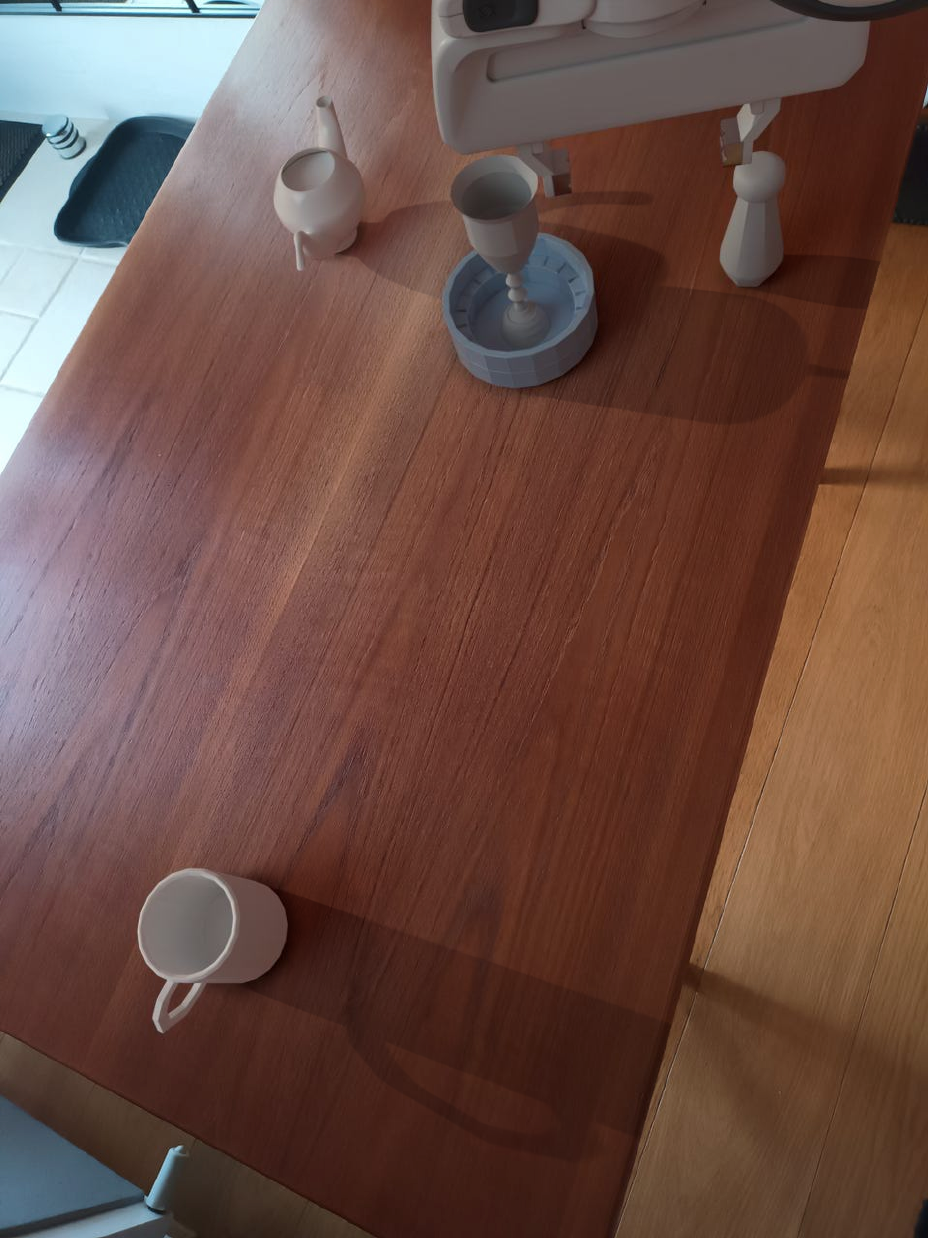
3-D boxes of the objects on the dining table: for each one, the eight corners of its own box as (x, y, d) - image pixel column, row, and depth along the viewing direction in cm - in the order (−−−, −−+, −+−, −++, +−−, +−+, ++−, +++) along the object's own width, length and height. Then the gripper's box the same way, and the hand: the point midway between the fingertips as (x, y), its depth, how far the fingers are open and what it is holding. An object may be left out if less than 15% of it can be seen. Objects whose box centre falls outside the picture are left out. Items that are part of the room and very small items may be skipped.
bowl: (592, 260, 96) (588, 220, 91) (603, 380, 91) (599, 344, 86) (453, 282, 99) (441, 244, 94) (455, 400, 94) (443, 367, 89)
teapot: (279, 312, 102) (243, 251, 94) (312, 167, 109) (282, 98, 100) (364, 310, 100) (335, 247, 91) (393, 162, 106) (368, 90, 98)
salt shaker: (775, 241, 93) (790, 131, 81) (786, 288, 90) (803, 182, 79) (713, 252, 94) (720, 146, 82) (723, 299, 91) (731, 197, 80)
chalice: (481, 352, 94) (441, 218, 78) (496, 295, 96) (460, 153, 80) (554, 357, 92) (528, 221, 76) (567, 300, 94) (545, 155, 78)
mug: (161, 1008, 78) (94, 1012, 69) (221, 867, 82) (165, 853, 72) (244, 1048, 76) (186, 1056, 67) (303, 900, 79) (255, 890, 70)
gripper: (891, -201, 38) (836, 93, 51) (400, -87, 42) (462, 161, 55) (922, -98, 36) (857, 184, 49) (399, 13, 40) (465, 248, 52)
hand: (645, 172), depth 52 cm, fingers open, 8 cm apart
